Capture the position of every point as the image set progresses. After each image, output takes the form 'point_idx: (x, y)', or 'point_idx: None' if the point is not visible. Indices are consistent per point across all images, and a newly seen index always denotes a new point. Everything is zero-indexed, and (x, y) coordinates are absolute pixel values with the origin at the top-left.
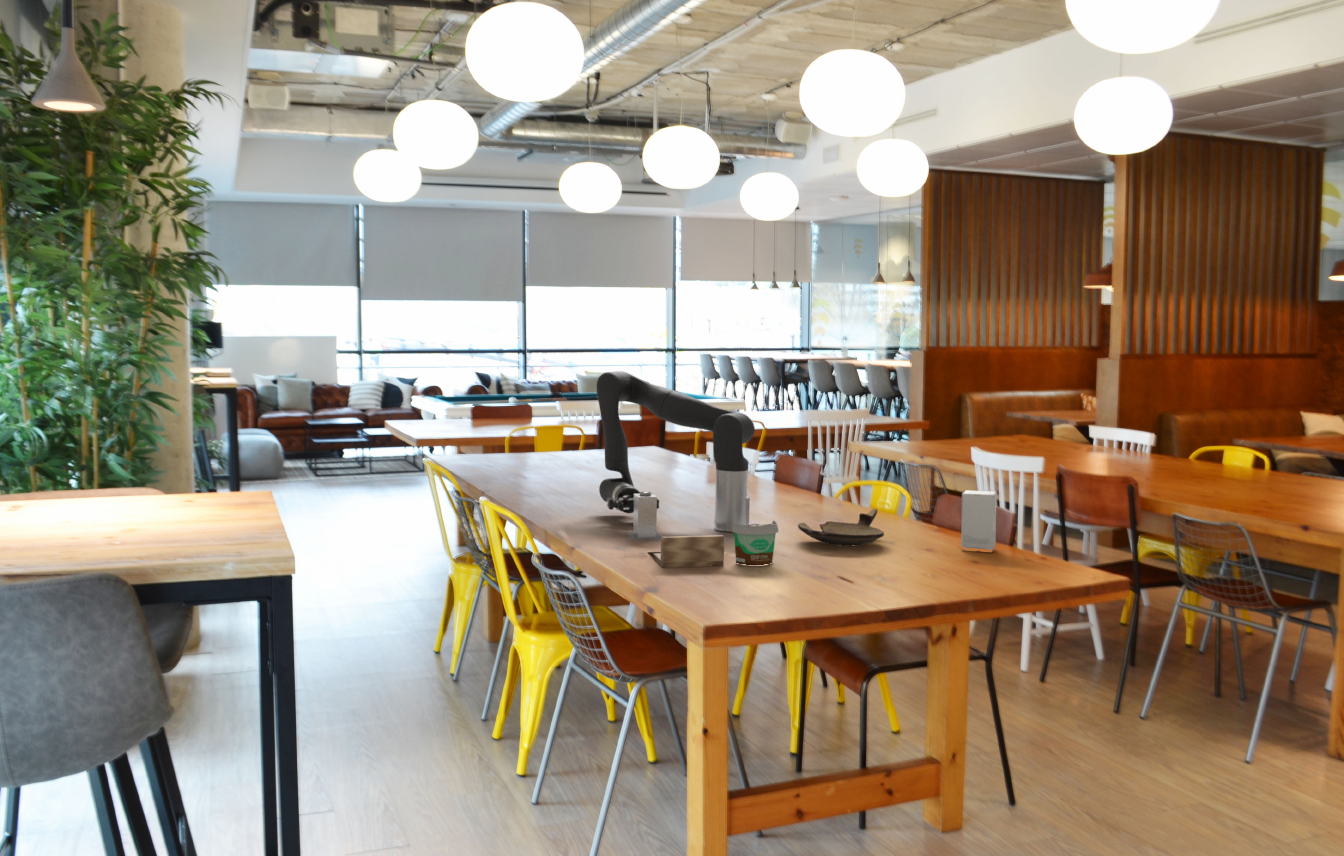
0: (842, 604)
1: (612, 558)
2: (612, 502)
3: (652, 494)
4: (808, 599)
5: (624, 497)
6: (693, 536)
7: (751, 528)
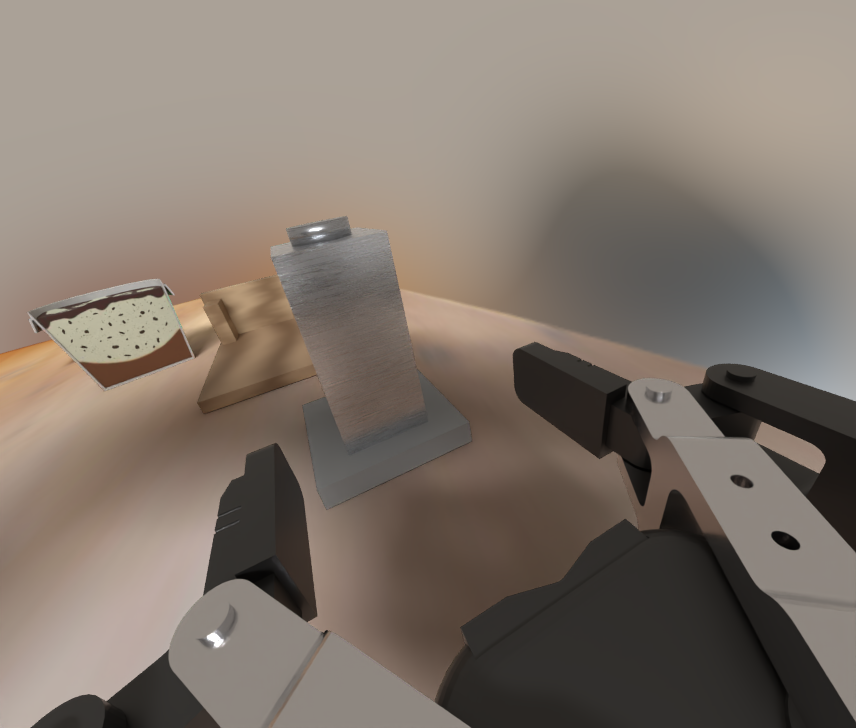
0: (176, 309)
1: (426, 312)
2: (708, 391)
3: (278, 251)
4: (199, 307)
5: (721, 493)
6: (262, 278)
7: (141, 286)
